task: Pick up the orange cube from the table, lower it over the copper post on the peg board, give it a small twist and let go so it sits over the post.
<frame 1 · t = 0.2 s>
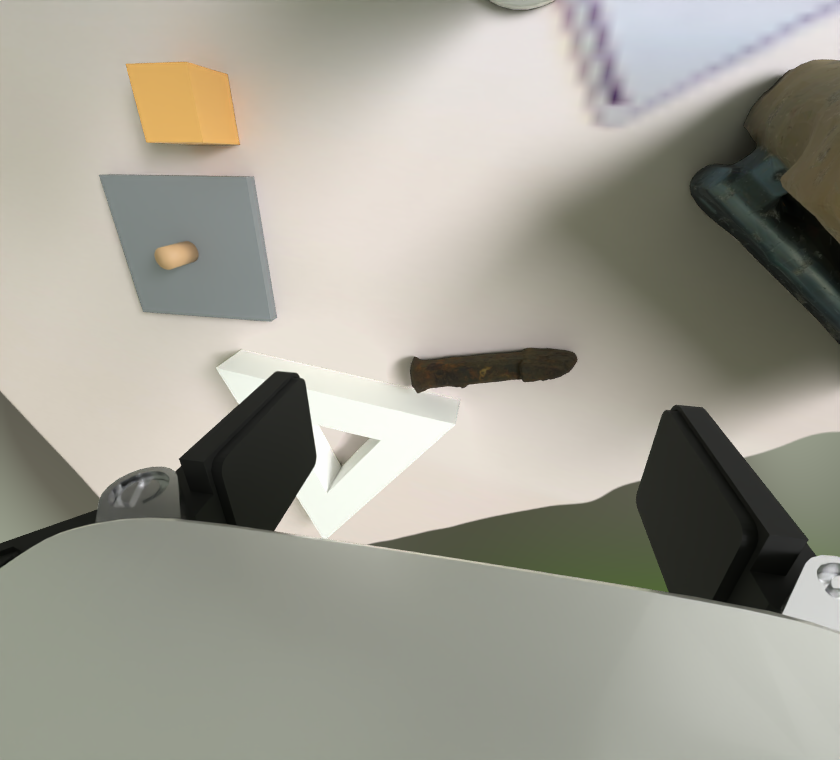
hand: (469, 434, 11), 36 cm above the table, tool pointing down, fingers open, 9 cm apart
peg board: (197, 249, 50), on the table
triangle block: (344, 447, 61), on the table
orange cube: (207, 111, 42), on the table
brown piece: (490, 355, 50), on the table
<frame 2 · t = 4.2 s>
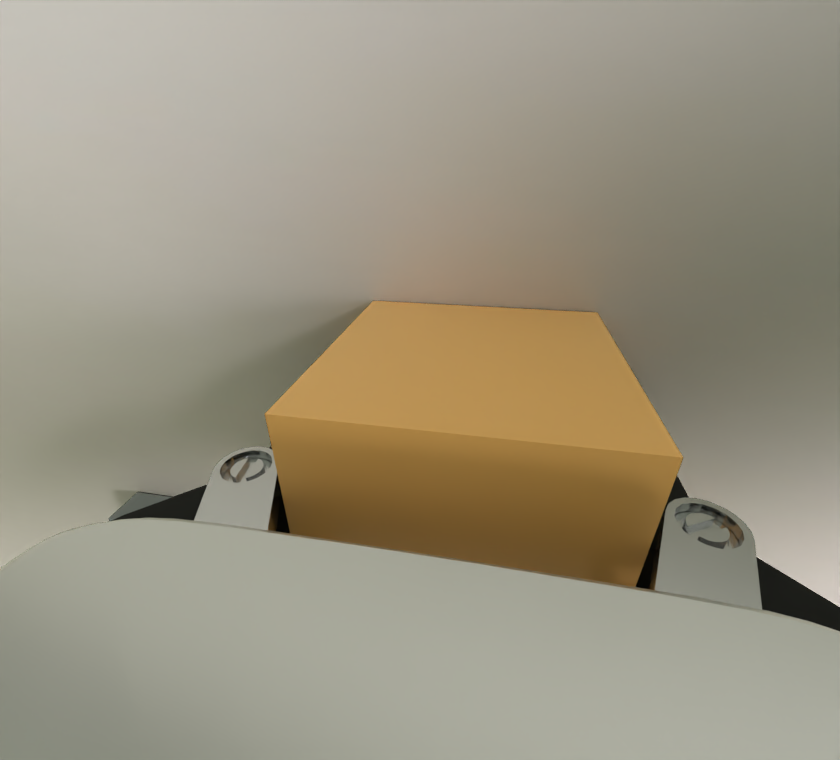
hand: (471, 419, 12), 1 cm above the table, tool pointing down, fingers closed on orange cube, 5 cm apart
peg board: (353, 640, 20), on the table
orange cube: (473, 401, 13), on the table, touching gripper
when the fingers open (3 cm above the table, at t = 9.8 s): orange cube stays where it is, resting on peg board.
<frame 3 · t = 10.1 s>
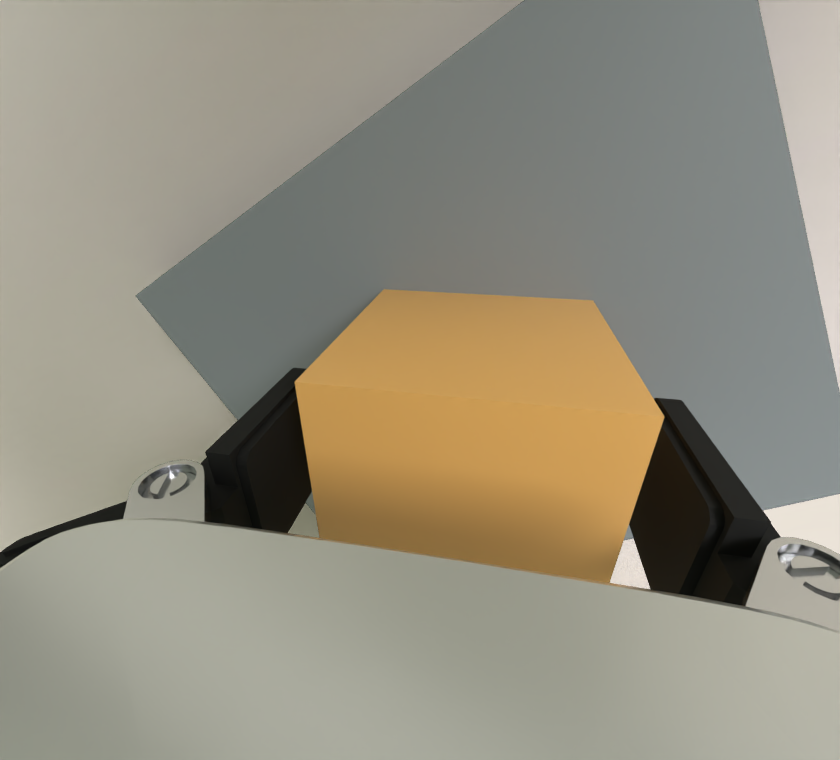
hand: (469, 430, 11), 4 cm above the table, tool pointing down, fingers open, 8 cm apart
peg board: (478, 366, 15), on the table
orange cube: (477, 385, 13), point 1 cm above the table, touching peg board
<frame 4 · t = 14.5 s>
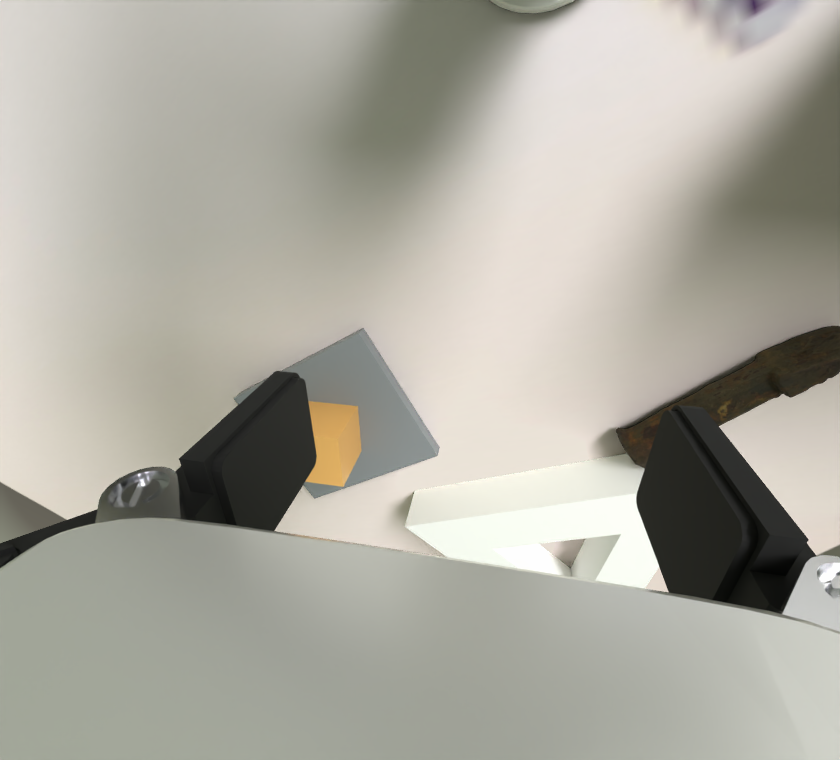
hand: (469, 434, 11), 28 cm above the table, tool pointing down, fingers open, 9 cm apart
peg board: (338, 419, 48), on the table
triangle block: (564, 545, 51), on the table
orange cube: (334, 426, 46), point 1 cm above the table, touching peg board
brown piece: (711, 383, 38), on the table
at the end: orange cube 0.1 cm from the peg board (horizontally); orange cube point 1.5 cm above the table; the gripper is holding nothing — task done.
